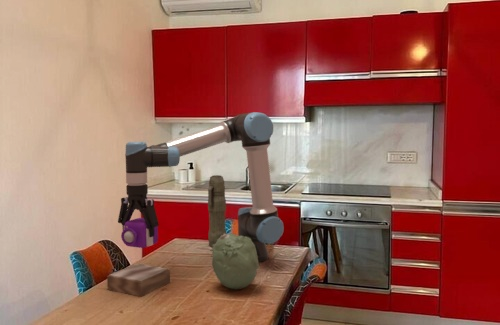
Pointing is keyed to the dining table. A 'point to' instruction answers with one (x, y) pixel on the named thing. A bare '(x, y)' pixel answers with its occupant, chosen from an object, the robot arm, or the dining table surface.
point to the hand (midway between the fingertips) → (138, 243)
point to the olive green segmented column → (216, 208)
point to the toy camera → (137, 233)
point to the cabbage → (234, 260)
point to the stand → (138, 279)
